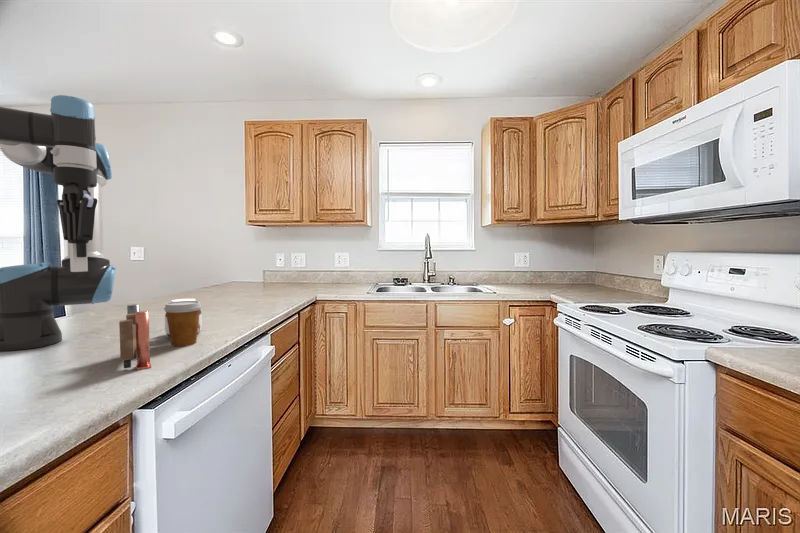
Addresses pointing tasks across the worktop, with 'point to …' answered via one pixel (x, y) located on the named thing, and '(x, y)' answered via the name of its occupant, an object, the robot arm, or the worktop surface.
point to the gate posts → (141, 336)
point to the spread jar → (198, 323)
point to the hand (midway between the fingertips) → (79, 271)
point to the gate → (127, 339)
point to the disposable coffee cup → (183, 321)
